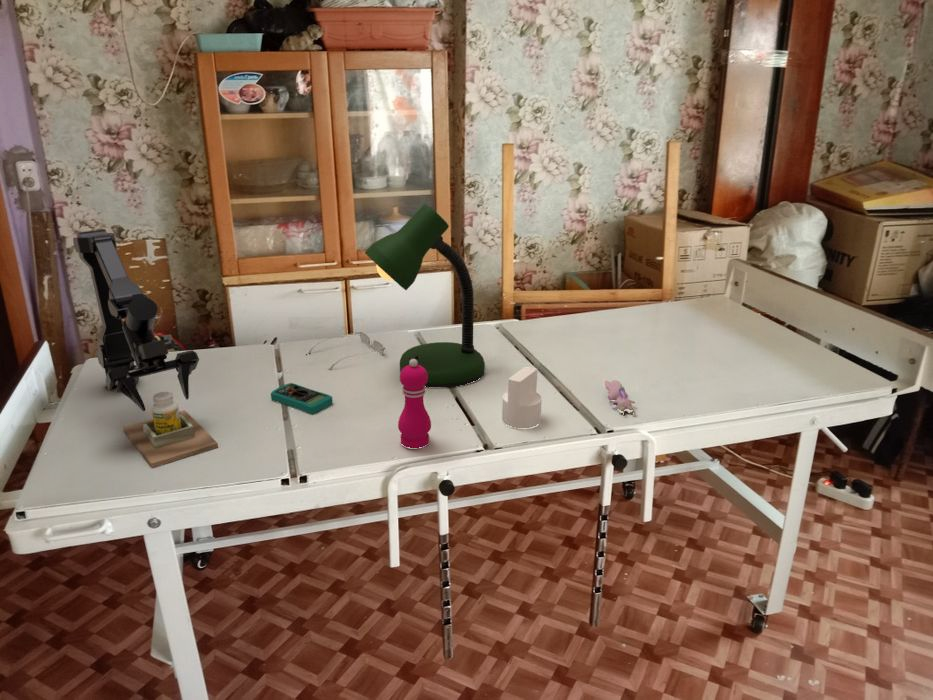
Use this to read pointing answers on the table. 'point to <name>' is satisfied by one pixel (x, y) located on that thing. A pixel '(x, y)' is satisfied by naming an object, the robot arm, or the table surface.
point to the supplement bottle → (165, 413)
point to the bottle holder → (169, 440)
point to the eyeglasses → (364, 339)
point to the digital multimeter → (301, 398)
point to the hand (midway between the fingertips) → (166, 404)
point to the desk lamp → (402, 264)
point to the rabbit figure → (618, 395)
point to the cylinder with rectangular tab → (522, 400)
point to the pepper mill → (414, 407)
